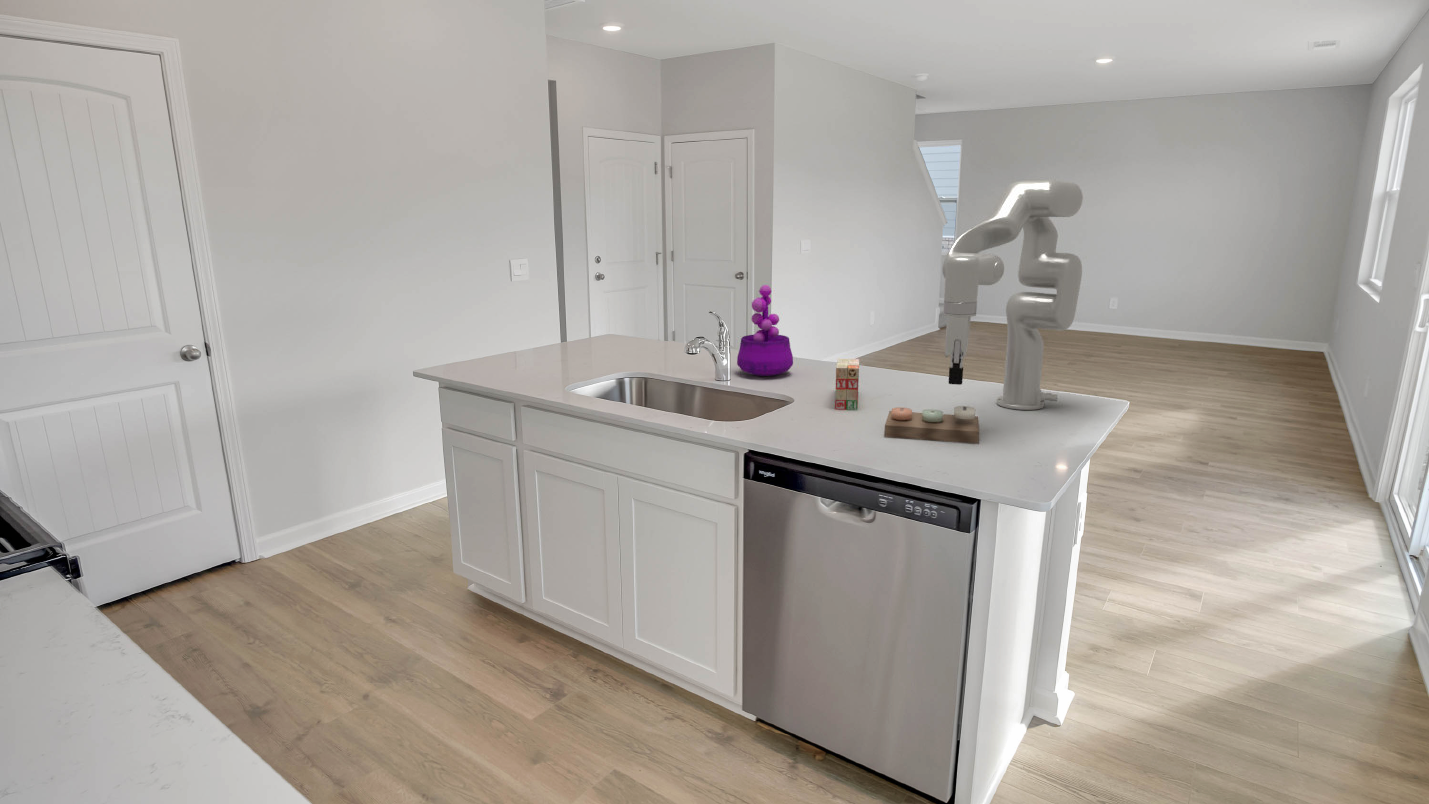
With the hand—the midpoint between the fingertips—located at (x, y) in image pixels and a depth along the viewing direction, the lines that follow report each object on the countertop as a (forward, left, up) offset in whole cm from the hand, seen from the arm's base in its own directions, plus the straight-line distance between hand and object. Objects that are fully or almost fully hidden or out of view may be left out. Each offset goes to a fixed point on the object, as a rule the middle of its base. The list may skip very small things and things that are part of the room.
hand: (955, 383), depth 191 cm
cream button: (-3, 0, -8) cm, 9 cm away
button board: (+5, 0, -13) cm, 14 cm away
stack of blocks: (+30, -27, -13) cm, 42 cm away
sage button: (+5, 0, -9) cm, 11 cm away
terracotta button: (+12, 0, -9) cm, 16 cm away
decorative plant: (+61, -56, -13) cm, 84 cm away
